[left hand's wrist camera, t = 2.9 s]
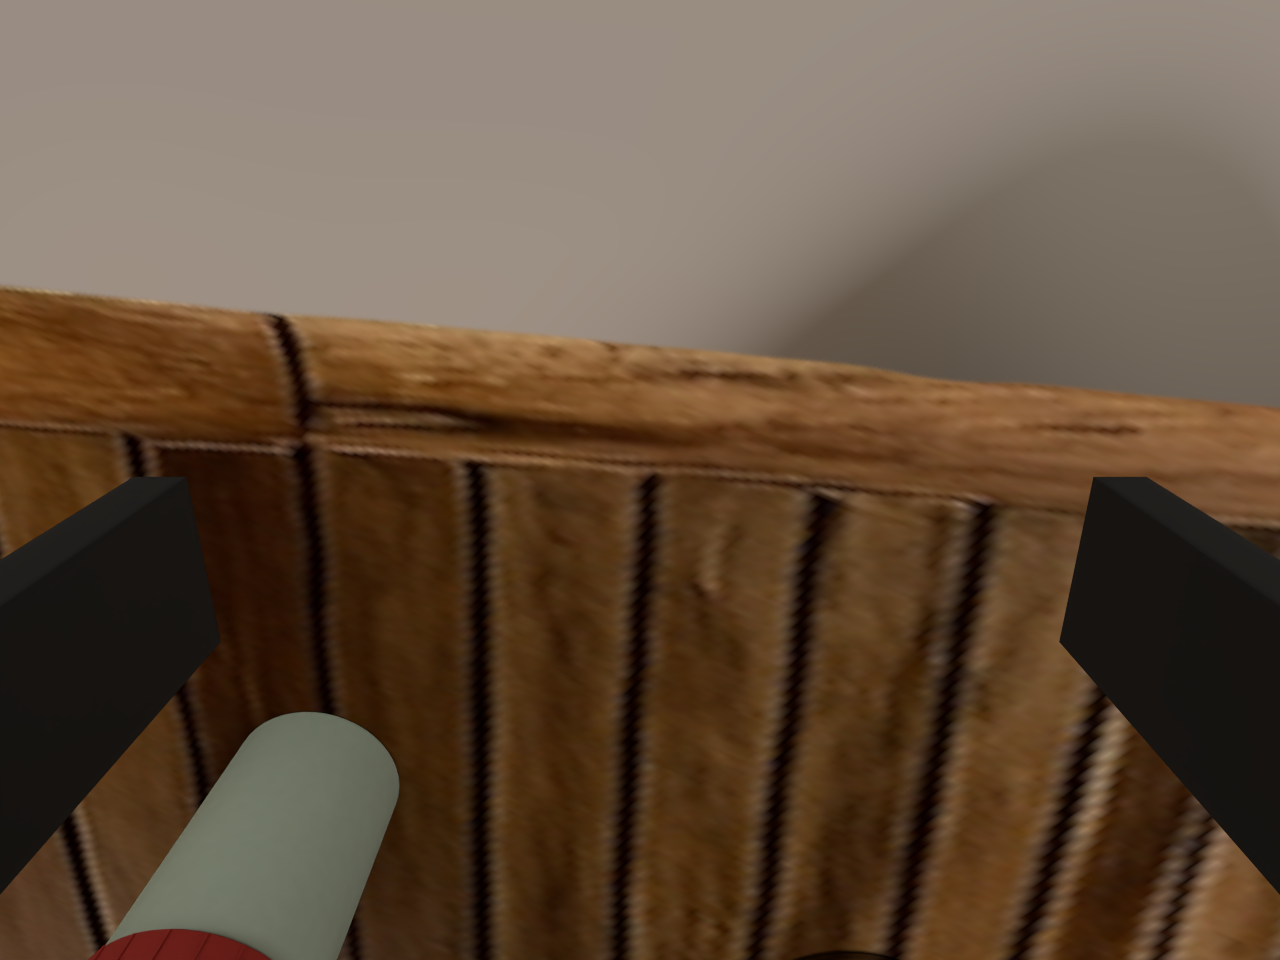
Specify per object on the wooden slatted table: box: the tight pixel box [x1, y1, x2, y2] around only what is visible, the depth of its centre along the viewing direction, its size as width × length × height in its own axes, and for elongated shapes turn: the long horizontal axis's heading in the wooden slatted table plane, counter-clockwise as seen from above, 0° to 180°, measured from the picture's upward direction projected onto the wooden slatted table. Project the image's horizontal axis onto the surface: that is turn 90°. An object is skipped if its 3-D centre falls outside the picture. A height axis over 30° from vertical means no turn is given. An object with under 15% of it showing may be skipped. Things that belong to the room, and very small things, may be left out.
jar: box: [105, 712, 399, 960], centre depth 41 cm, size 9×9×16 cm
